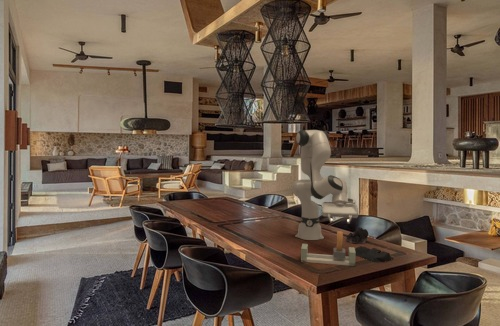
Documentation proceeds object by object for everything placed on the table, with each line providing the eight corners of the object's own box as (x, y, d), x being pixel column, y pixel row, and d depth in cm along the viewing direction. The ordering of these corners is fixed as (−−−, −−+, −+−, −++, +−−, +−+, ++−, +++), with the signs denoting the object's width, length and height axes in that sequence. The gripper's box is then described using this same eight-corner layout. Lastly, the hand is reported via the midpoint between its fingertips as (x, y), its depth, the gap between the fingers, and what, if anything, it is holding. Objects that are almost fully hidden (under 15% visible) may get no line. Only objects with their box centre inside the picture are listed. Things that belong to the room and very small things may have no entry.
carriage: (333, 253, 205) (334, 229, 205) (344, 254, 204) (345, 230, 203) (333, 257, 198) (334, 233, 197) (345, 258, 196) (346, 233, 196)
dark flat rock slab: (366, 250, 226) (366, 242, 226) (396, 260, 207) (396, 252, 206) (347, 253, 219) (347, 245, 218) (376, 264, 199) (376, 255, 199)
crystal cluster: (341, 242, 243) (342, 227, 242) (351, 237, 253) (352, 222, 252) (361, 248, 235) (362, 233, 233) (370, 242, 245) (371, 227, 243)
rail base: (302, 256, 210) (302, 243, 210) (353, 260, 204) (354, 247, 204) (300, 261, 200) (301, 248, 200) (355, 266, 194) (355, 252, 194)
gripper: (321, 198, 220) (320, 218, 211) (357, 200, 216) (358, 220, 206) (321, 205, 224) (320, 224, 215) (357, 206, 220) (357, 226, 211)
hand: (339, 222), depth 211 cm, fingers open, 8 cm apart
